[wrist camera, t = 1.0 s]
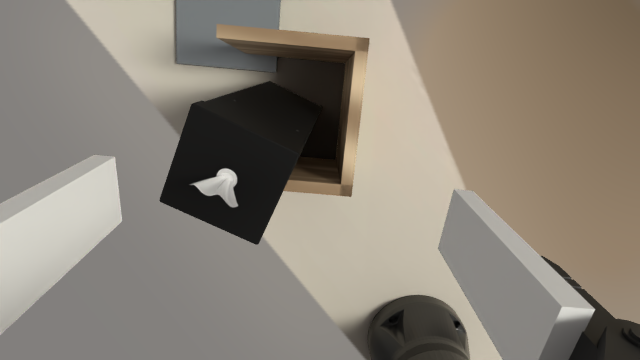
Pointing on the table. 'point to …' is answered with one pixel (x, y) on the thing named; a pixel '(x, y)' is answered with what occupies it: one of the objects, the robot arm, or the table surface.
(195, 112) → the black tall block
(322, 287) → the table surface
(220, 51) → the pad
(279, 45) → the holder
